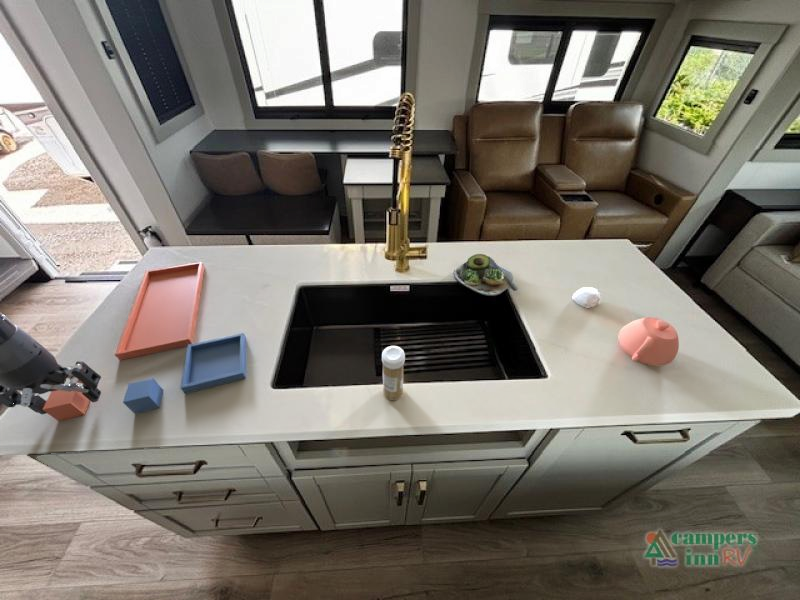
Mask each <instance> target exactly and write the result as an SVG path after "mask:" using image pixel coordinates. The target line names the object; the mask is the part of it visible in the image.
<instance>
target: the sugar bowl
mask: <svg viewBox="0 0 800 600" xmlns="http://www.w3.org/2000/svg"><path fill="white" fill-rule="evenodd" d="M678 334H679V333H678V331H677V330H676V328H675V327H674V326H673V325H672V324H670V323H669V322H667V321H666V320H663V319H661V318H658V317H654V316H653V317H652V316H648V317H643V318H639V319H636V320H633V321H631V322H629V323H627V324H626V325H624V326H623V327H622V328H621V329H620V330H619V332H618V336H617V337H618V343H619V345H620V347H621V349H622V351H624V353H626V355H627V356H629V357H630V358H631V360H632V361H633V362H635V363H638V362H639V363H642V364H644V365H647V364H648V366H659V367H660V366H666V365H668V364H671V363H672V362H673V361H674V359H676V357H677V354H678V352H679V347H680V342H679V335H678Z"/></svg>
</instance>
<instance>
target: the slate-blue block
mask: <svg viewBox="0 0 800 600" xmlns="http://www.w3.org/2000/svg"><path fill="white" fill-rule="evenodd" d="M163 393H164V388H162V386H161V385H160V384H159V383H158V382H157V380H155V378H154V377H152V378H147V379H143V380H139V381H135V382H130V383H128V384H127V388H126V392H125V394H124V398H123V401H122V403H123V404H124V405H125V406H126V407H127V408H128V409H129V410H130V411H131V412H132V413H133V414H134V415H136V414H139V413H140V414H141V413H144V412H148V411H151V410H155V409H159V408H161V407H160V406H161V403H162V398H163Z"/></svg>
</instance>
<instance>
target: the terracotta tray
mask: <svg viewBox="0 0 800 600" xmlns="http://www.w3.org/2000/svg"><path fill="white" fill-rule="evenodd" d="M205 269H206V268H205V265H204V263H203V261H199V262H193V263H186V264H180V265H174V266H173V265H172V266H167V267H162V268H155V269H148V270H145V272H144V274H143V277H142V279H141V282H140V285H139V288H138V290H137V293H136V296H135V298H134V301H133V304H132V307H131V309H130V312H129V314H128V318H127V320H126V323H125V324H124V325H125V326H124V329H123V331H122V333H121V337H120V338H119V341H118V344H117V346H116V350H115V353H114V356H115V357H116V358H117V359H118V360H119V361H124V360H127V359H132V358H136V357H141V356H145V355H150V354H155V353H159V352H164V351H169V350H173V349H178V348H182V347H188V345H190V344H194V337H195V330H196V325H197V318H198V312H199V307H200V306H199V305H200V301H201V294H202V293H201V292H202V288H203V280H204V275H205Z"/></svg>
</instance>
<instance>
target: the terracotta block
mask: <svg viewBox="0 0 800 600" xmlns="http://www.w3.org/2000/svg"><path fill="white" fill-rule="evenodd" d="M77 385H78V386H81V385H80V383H77ZM90 402H91V401H90V400H89V399H88V398H86V397H85V396H84V395H83V394H82V392H77V391H70V392H66V391H61V390H57V391H50V393H49V395H48V398H47V399H46V403H45V405H44V407H43V409H42V410H43V411H45V412H46V414H48V415H49V416H51V417H52V418H53V419H55V420H56V421H58V422H60V421H64V420H68V419H73V418H76V417H80V416H81V417H82V416H84V415H86V412H87V410H88V408H89V405H90Z"/></svg>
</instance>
